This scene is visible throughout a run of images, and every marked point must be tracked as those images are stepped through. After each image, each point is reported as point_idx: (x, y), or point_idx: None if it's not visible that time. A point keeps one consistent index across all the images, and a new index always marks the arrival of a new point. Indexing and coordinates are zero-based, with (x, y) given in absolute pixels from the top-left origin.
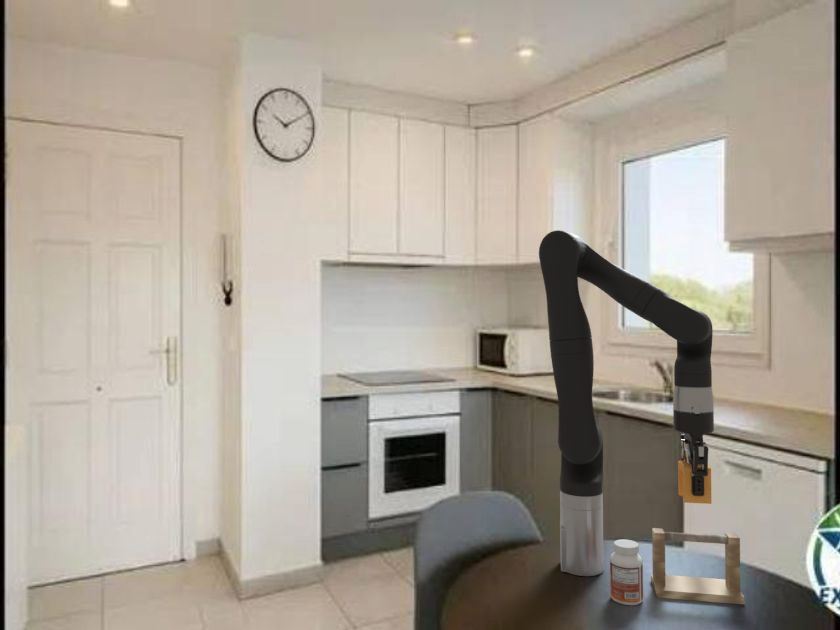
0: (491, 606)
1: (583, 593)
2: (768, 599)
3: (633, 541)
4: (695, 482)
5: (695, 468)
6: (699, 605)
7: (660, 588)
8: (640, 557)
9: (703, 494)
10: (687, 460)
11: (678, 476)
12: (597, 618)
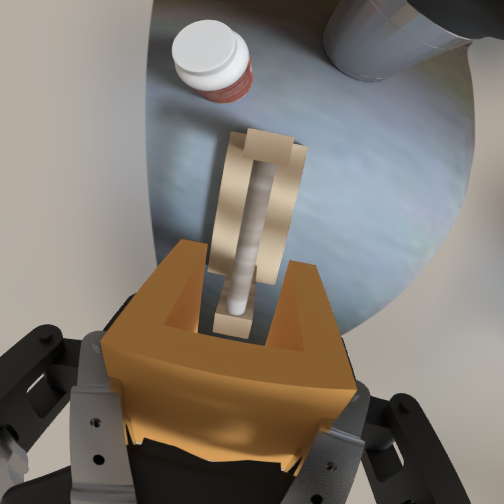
0: None
1: (250, 20)
2: None
3: (216, 64)
4: (109, 322)
5: (15, 351)
6: (203, 194)
7: (236, 139)
8: (197, 82)
9: None
10: (100, 406)
11: (326, 312)
12: (160, 30)
